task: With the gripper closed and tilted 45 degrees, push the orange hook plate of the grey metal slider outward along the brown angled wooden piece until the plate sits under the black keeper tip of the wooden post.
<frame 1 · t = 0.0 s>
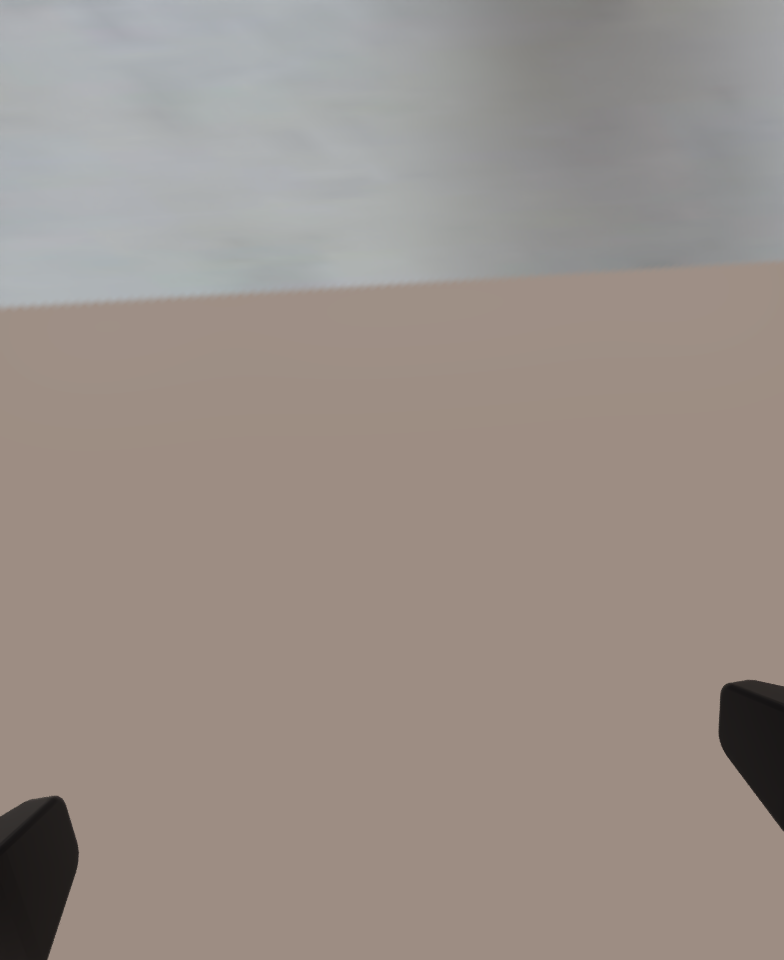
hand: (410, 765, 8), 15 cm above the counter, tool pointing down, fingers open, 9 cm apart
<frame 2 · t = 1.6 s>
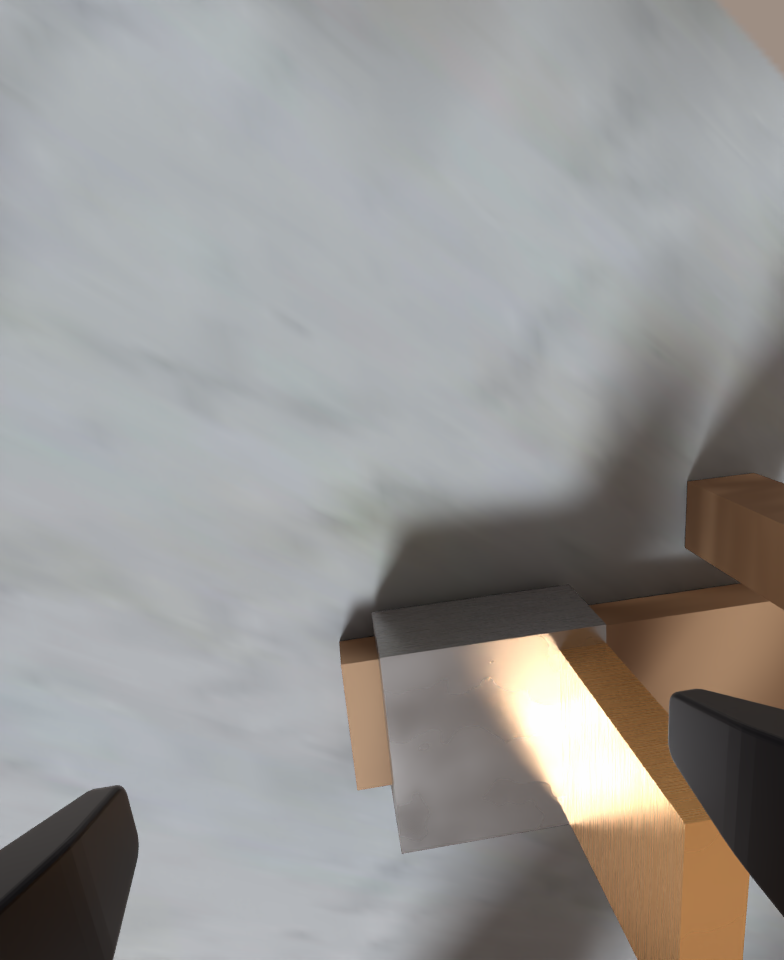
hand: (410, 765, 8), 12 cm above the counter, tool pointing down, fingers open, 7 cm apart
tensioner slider: (519, 787, 18), point 5 cm above the counter, slide at 0.0 cm
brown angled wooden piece: (599, 664, 23), on the counter
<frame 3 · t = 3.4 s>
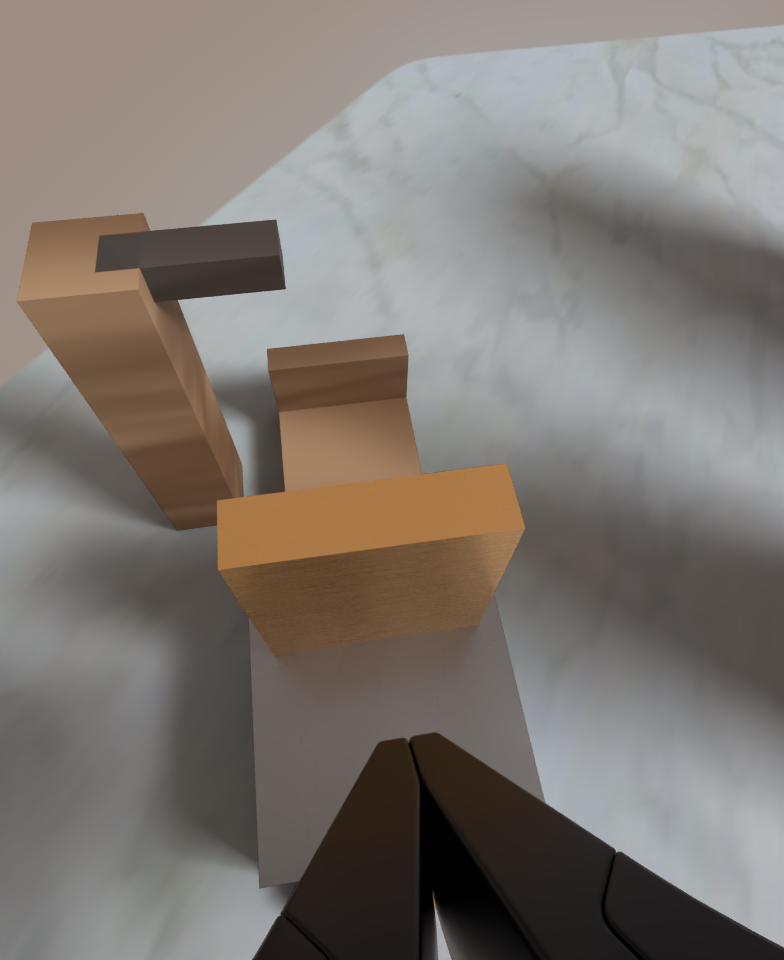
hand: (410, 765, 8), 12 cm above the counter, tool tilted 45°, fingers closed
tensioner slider: (388, 699, 15), point 5 cm above the counter, slide at 0.0 cm
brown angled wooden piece: (367, 587, 22), on the counter
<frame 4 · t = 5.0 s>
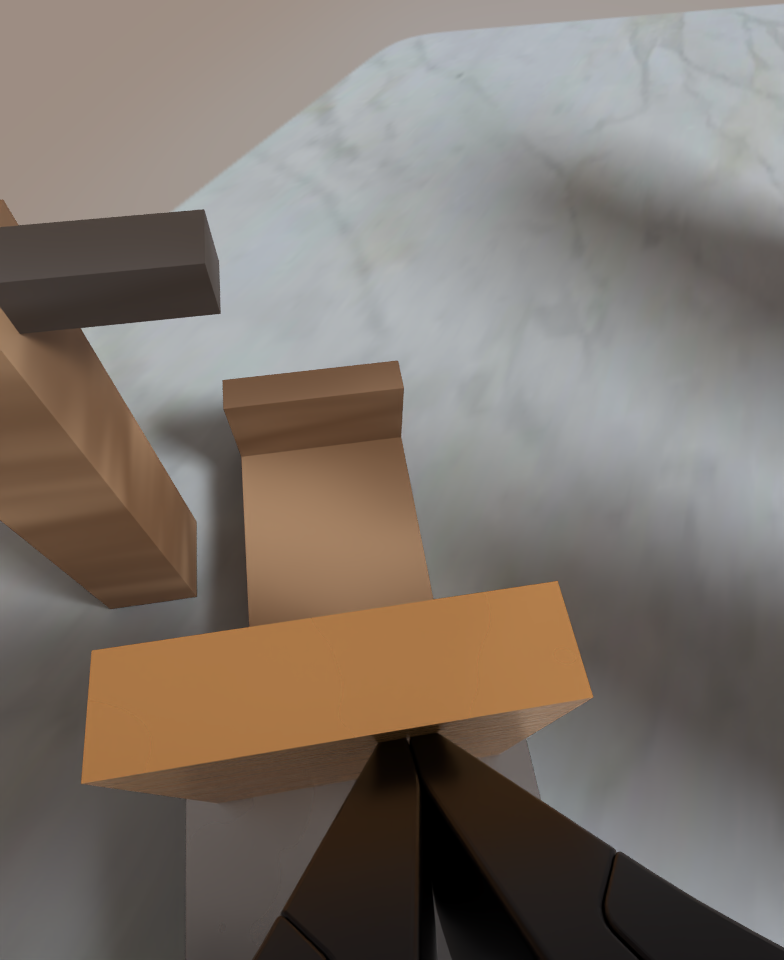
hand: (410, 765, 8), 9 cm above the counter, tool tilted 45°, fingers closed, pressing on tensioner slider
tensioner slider: (374, 900, 10), point 5 cm above the counter, slide at 0.2 cm, touching gripper
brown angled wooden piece: (352, 685, 17), on the counter
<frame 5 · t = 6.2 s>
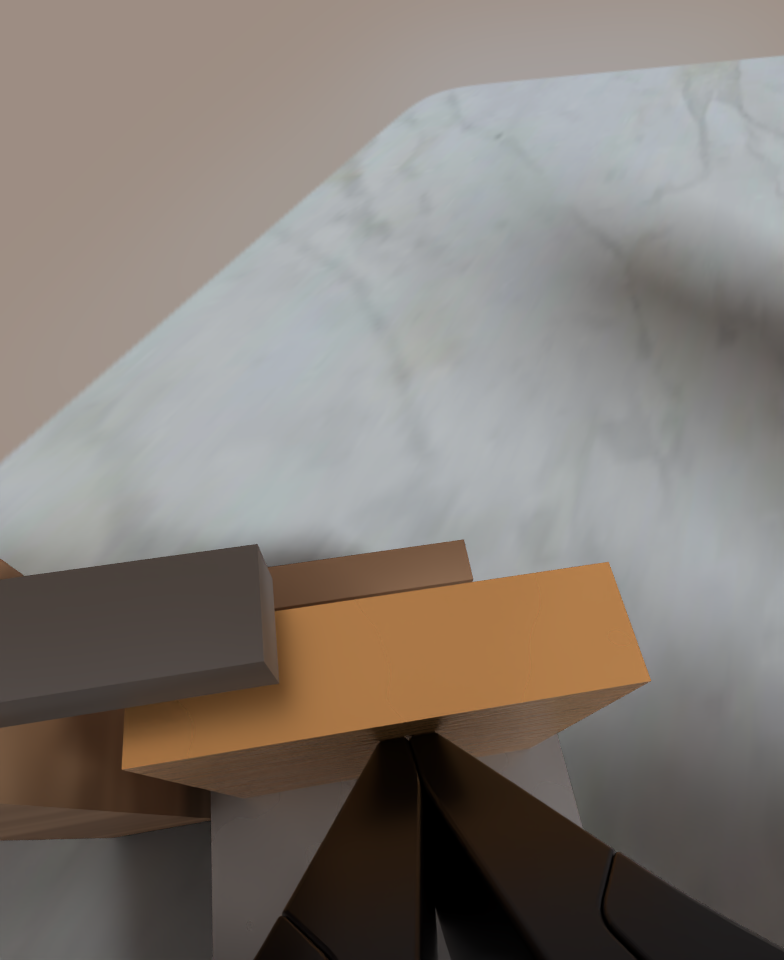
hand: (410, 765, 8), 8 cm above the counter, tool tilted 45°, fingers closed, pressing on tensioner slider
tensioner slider: (410, 896, 10), point 5 cm above the counter, slide at 6.2 cm, touching gripper
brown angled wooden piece: (411, 947, 14), on the counter
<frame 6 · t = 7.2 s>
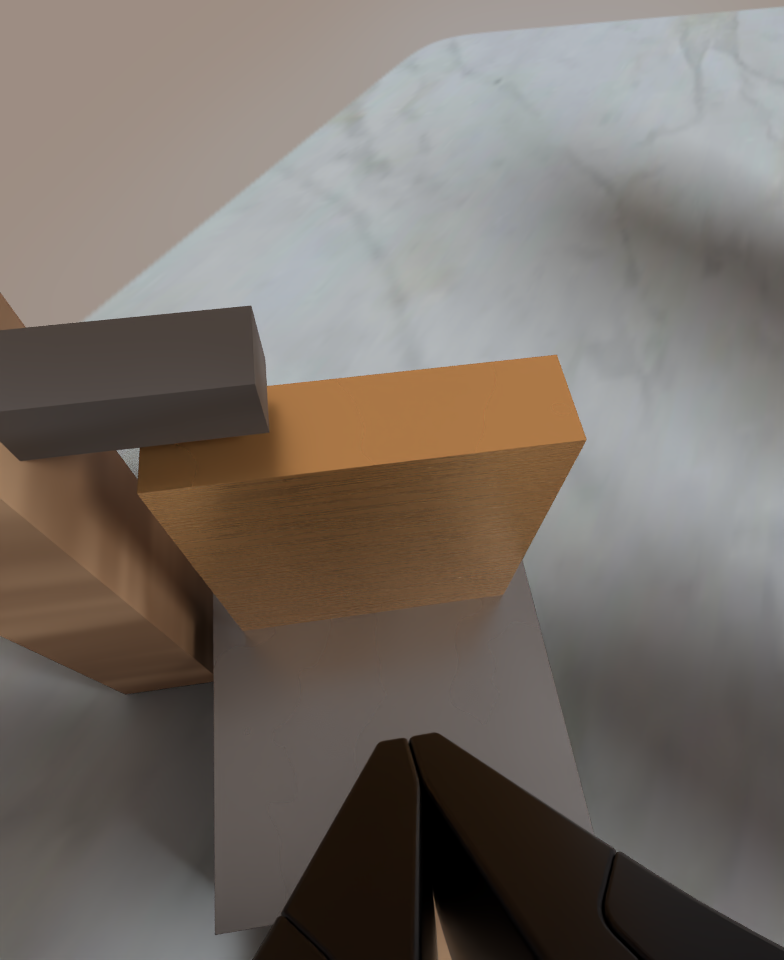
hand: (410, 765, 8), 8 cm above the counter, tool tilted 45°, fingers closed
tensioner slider: (387, 687, 11), point 5 cm above the counter, slide at 6.3 cm
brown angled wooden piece: (395, 789, 15), on the counter
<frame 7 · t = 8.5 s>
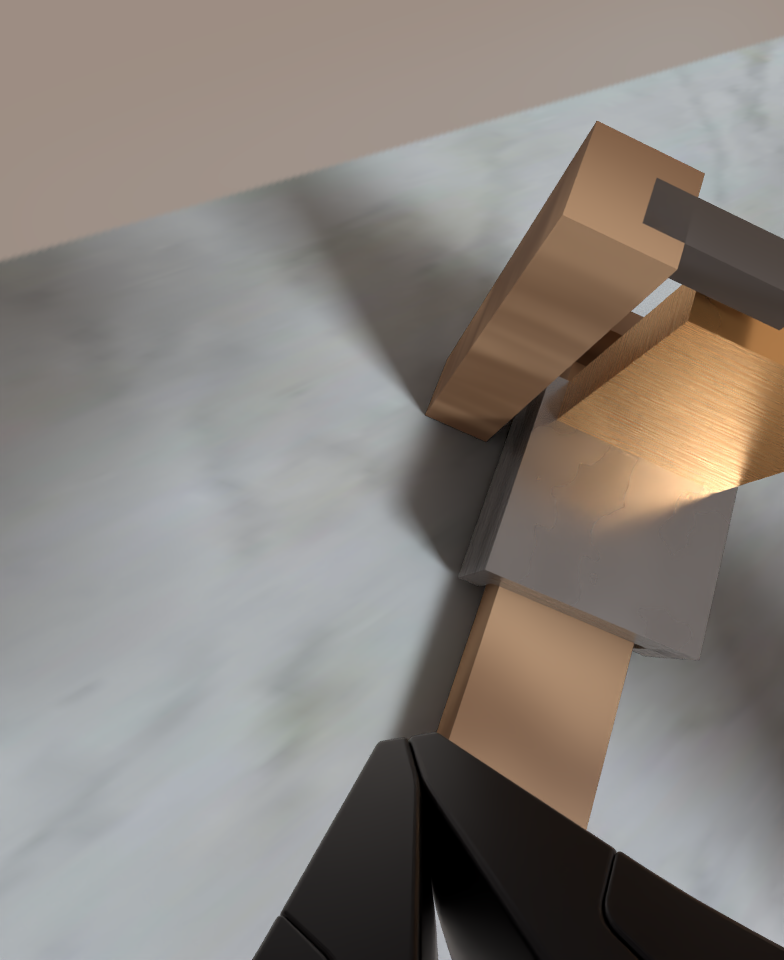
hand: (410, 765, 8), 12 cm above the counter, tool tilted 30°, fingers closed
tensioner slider: (657, 499, 18), point 5 cm above the counter, slide at 6.3 cm
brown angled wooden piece: (563, 566, 22), on the counter
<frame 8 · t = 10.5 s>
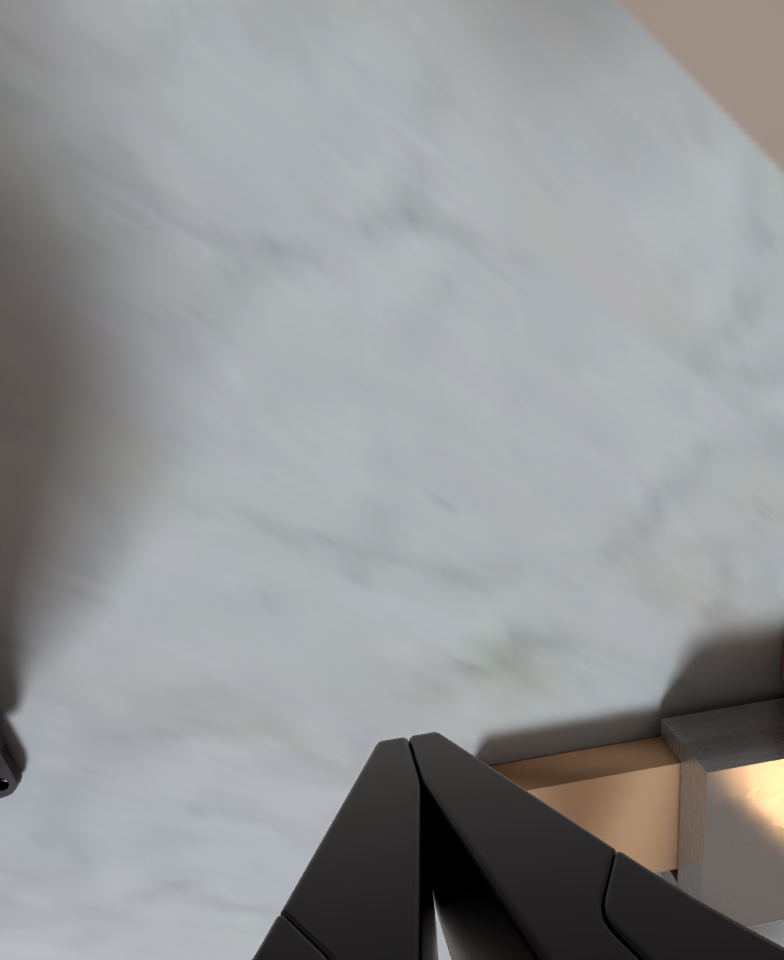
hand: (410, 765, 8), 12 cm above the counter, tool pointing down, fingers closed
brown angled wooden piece: (699, 780, 25), on the counter
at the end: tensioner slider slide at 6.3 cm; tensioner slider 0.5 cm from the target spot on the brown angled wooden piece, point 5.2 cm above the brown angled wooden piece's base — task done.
